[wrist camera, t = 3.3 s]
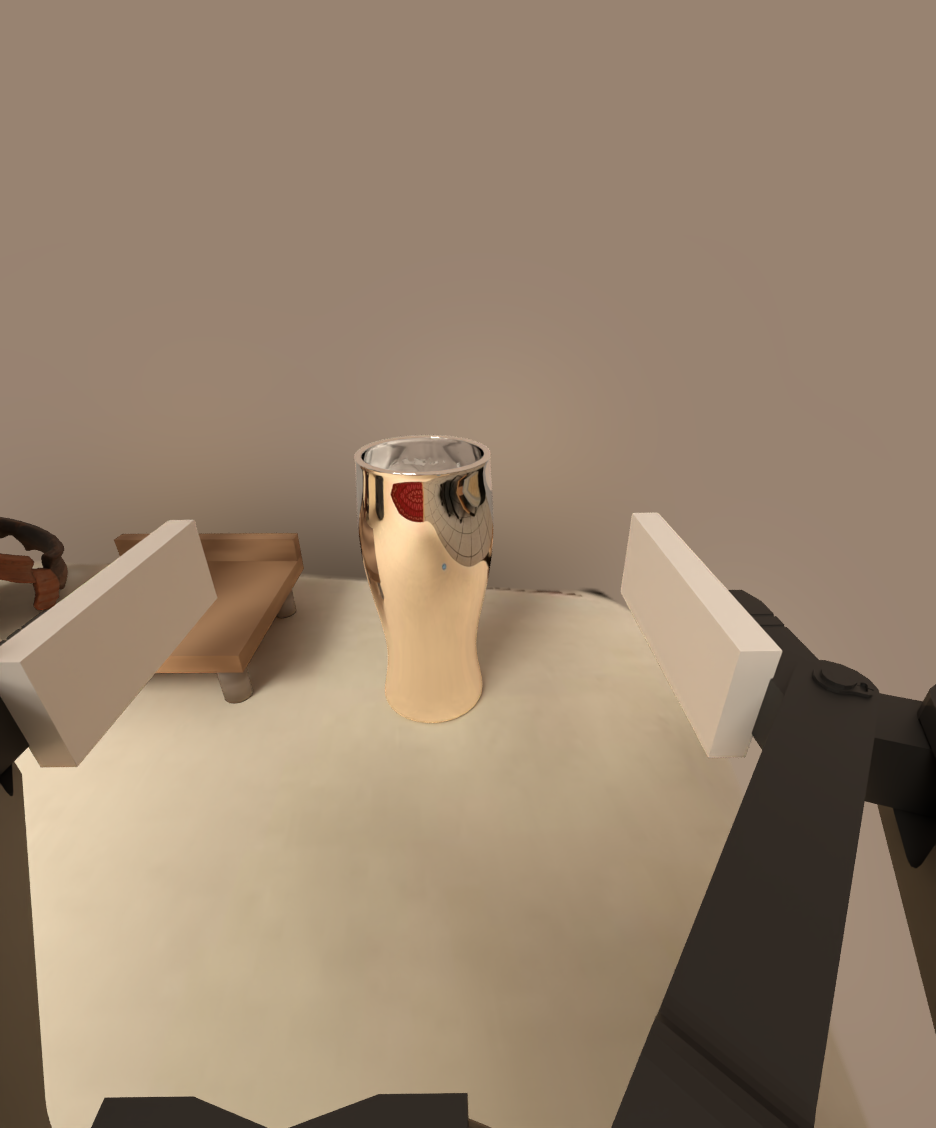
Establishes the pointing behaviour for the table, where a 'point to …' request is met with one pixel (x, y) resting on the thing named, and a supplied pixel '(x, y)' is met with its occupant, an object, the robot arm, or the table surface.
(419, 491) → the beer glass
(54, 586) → the broken clay pot
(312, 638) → the table surface
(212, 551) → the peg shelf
